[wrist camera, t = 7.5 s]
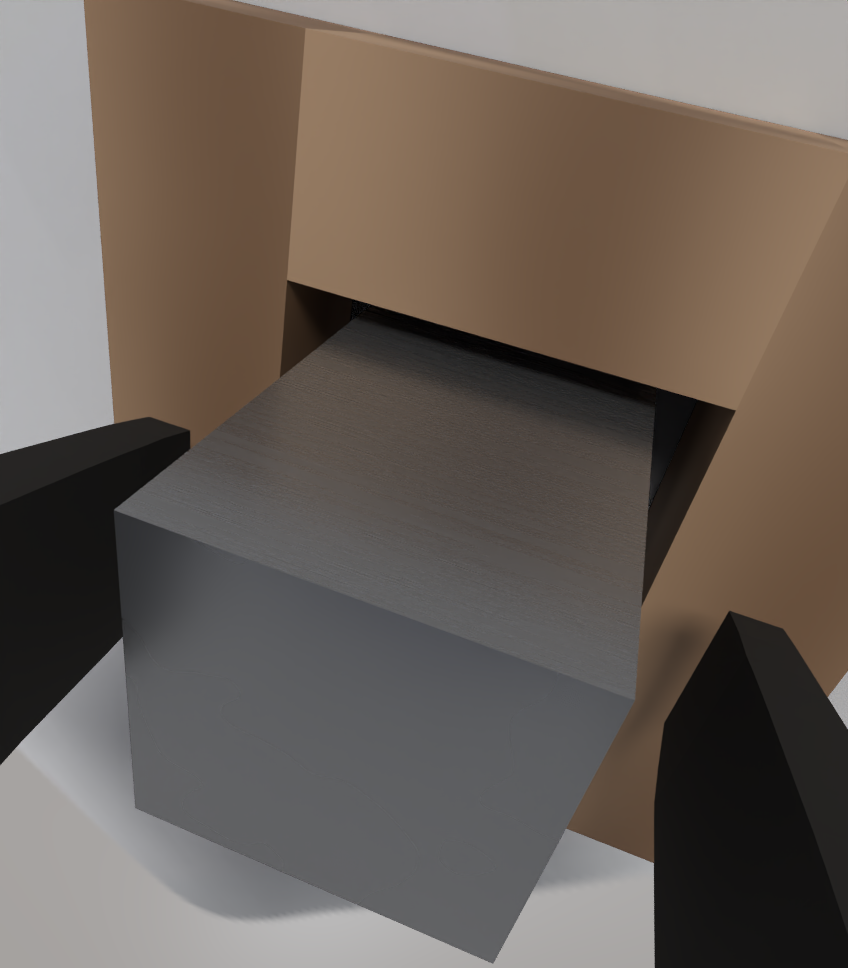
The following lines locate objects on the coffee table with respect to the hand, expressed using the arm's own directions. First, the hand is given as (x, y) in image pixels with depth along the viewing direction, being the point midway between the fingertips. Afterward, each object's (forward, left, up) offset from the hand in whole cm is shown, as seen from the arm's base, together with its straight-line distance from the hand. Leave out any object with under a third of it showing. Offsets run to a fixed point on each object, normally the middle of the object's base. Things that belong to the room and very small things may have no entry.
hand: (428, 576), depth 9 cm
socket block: (0, 0, -4) cm, 4 cm away
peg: (0, 0, -4) cm, 4 cm away
